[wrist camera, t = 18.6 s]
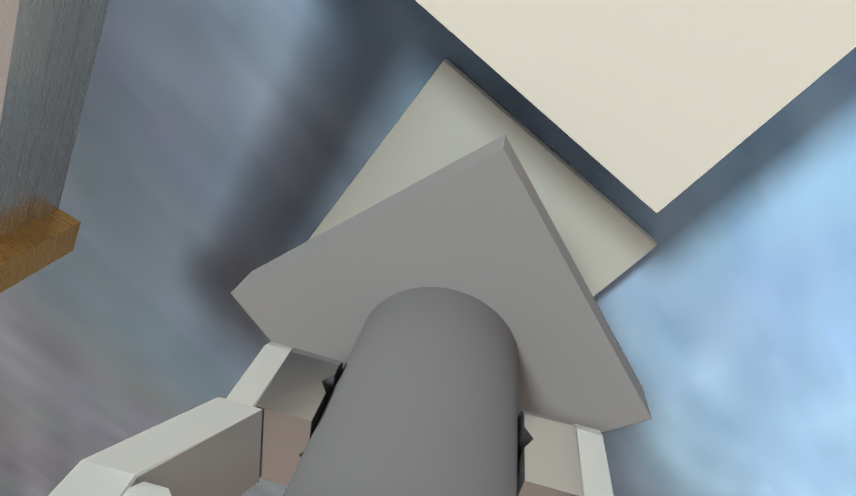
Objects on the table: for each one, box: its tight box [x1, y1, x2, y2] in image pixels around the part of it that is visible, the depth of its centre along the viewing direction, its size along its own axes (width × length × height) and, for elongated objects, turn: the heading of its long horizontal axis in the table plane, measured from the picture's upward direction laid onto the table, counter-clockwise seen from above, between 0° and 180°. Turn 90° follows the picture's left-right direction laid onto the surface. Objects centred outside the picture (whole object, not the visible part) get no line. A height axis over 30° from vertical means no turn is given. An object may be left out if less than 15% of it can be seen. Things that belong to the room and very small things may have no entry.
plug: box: [231, 135, 652, 496], centre depth 11 cm, size 7×7×9 cm
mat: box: [308, 58, 657, 297], centre depth 16 cm, size 8×8×1 cm
